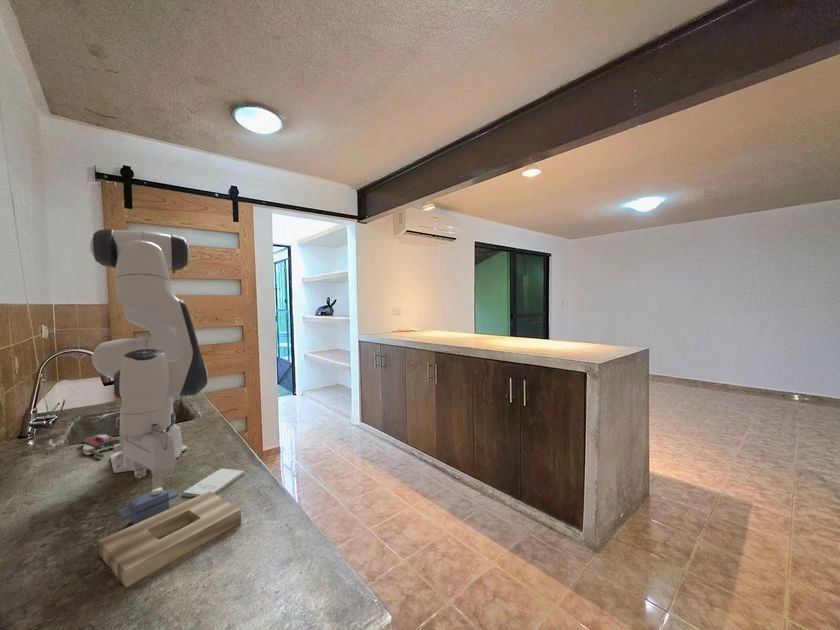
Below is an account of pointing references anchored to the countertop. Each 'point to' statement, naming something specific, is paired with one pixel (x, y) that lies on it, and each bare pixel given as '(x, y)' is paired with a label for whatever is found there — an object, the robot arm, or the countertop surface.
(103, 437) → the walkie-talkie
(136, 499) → the block
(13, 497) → the countertop surface
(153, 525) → the wooden board with hole
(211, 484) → the external hard drive
